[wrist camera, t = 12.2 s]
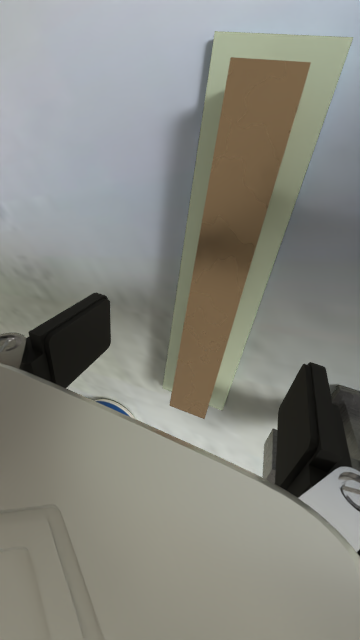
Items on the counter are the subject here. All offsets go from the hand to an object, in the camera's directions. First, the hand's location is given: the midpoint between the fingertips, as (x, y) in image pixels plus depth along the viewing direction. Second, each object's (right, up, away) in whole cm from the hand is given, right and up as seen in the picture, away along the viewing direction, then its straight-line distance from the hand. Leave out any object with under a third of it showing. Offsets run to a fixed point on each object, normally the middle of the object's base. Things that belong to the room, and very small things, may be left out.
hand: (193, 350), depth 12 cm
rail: (+3, +4, +8) cm, 10 cm away
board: (+3, +5, +9) cm, 11 cm away
